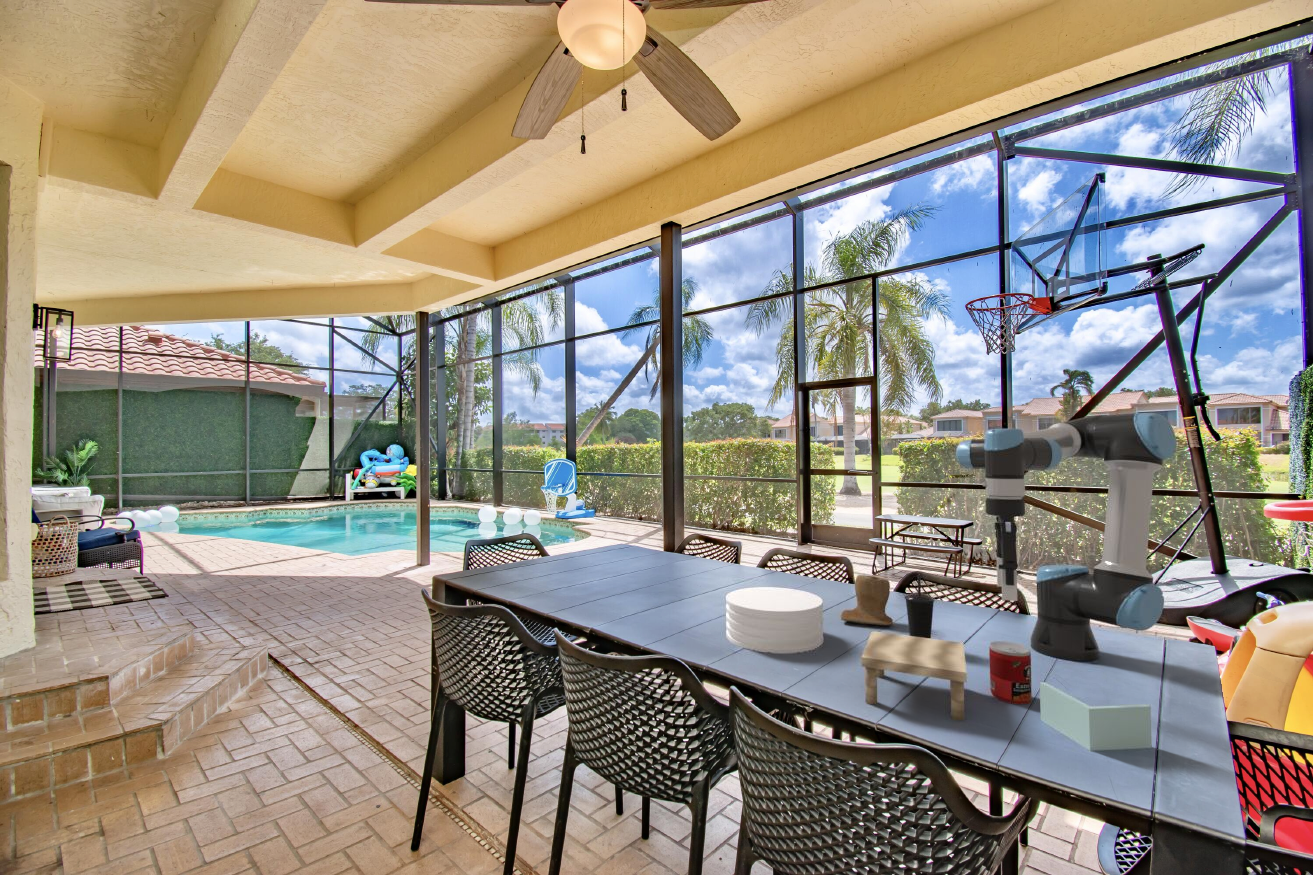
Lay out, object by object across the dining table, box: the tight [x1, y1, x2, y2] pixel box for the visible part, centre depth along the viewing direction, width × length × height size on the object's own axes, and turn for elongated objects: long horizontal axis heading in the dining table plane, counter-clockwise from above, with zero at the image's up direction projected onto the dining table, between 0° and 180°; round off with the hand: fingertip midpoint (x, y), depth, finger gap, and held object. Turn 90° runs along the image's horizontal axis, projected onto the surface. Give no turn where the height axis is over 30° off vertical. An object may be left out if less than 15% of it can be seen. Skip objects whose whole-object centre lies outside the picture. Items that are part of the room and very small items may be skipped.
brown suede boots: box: [840, 574, 894, 626], centre depth 182 cm, size 15×12×15 cm
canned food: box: [988, 640, 1033, 705], centre depth 126 cm, size 8×8×11 cm
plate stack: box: [725, 586, 824, 654], centre depth 168 cm, size 28×28×12 cm
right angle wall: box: [1039, 681, 1153, 752], centre depth 110 cm, size 12×12×8 cm
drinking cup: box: [904, 574, 936, 639], centre depth 159 cm, size 8×8×20 cm
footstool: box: [861, 630, 968, 721], centre depth 127 cm, size 20×20×10 cm
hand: (1006, 593), depth 127 cm, fingers open, 13 cm apart
